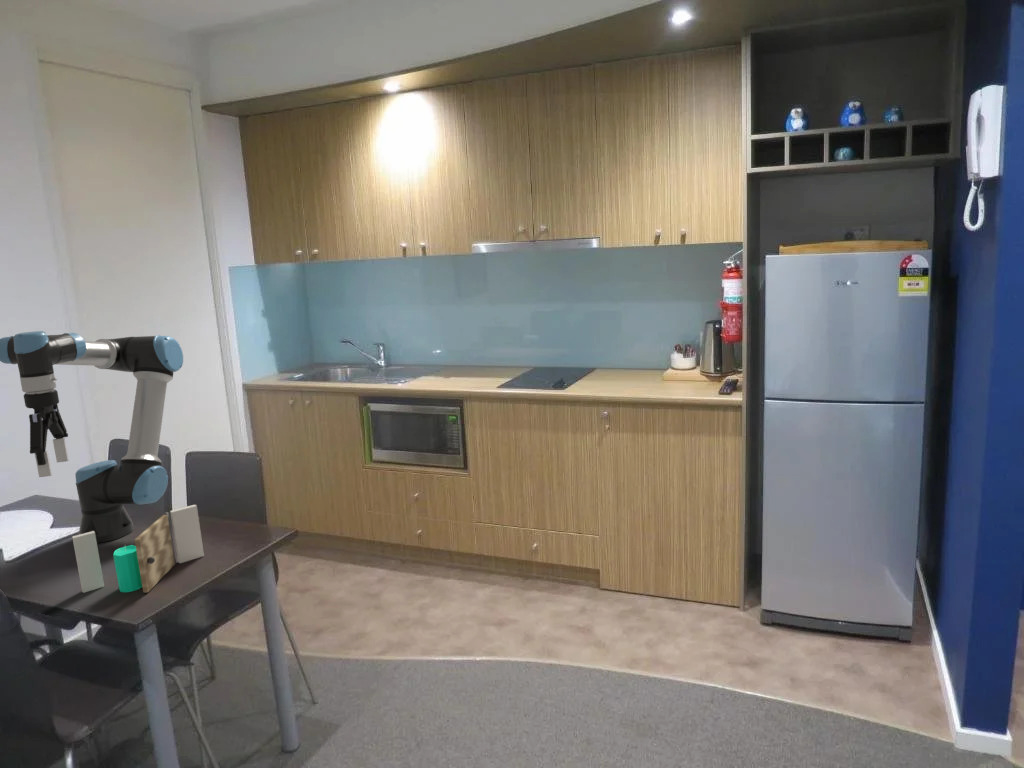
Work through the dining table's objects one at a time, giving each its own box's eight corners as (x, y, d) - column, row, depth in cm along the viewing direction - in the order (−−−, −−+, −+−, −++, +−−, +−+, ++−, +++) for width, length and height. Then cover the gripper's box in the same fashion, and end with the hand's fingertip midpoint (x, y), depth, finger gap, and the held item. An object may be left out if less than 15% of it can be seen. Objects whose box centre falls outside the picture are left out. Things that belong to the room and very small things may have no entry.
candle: (126, 582, 196) (119, 540, 194) (148, 581, 196) (141, 539, 194) (114, 592, 190) (107, 550, 188) (137, 591, 190) (130, 549, 188)
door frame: (82, 590, 193) (72, 536, 190) (202, 554, 212) (195, 504, 209) (83, 592, 191) (73, 538, 188) (204, 555, 211) (196, 505, 208)
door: (170, 564, 205) (163, 515, 202) (180, 563, 205) (173, 514, 202) (143, 592, 189) (134, 539, 186) (154, 591, 189) (145, 538, 186)
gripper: (39, 398, 179) (54, 480, 183) (71, 381, 203) (84, 454, 207) (4, 402, 177) (20, 484, 181) (40, 384, 201) (54, 457, 205)
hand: (54, 468), depth 194 cm, fingers open, 13 cm apart
